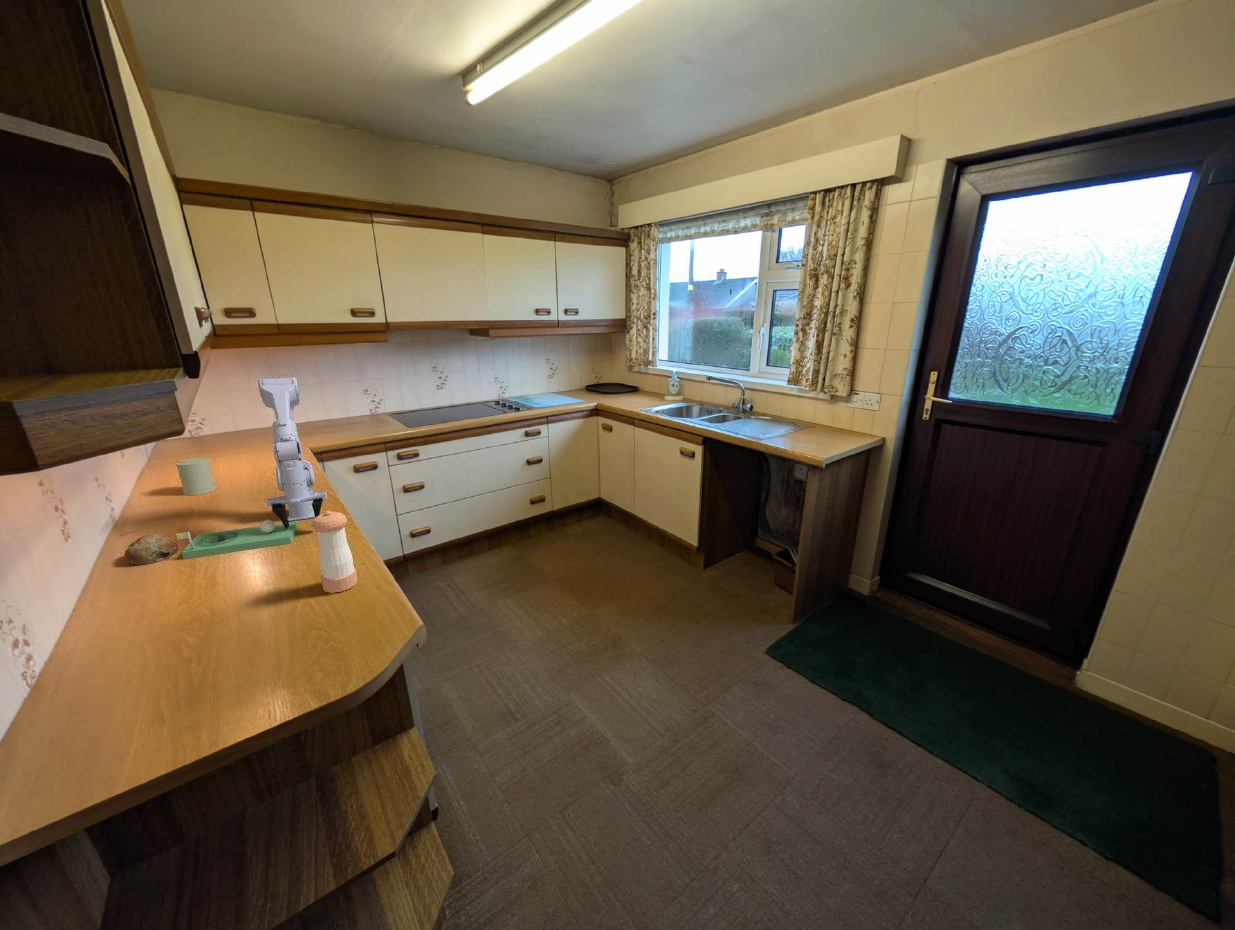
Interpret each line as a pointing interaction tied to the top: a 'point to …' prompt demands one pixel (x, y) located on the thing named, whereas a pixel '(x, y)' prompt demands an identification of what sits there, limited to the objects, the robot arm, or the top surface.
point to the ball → (267, 526)
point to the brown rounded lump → (150, 549)
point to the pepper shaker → (334, 552)
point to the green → (236, 540)
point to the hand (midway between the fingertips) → (302, 525)
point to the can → (196, 476)
